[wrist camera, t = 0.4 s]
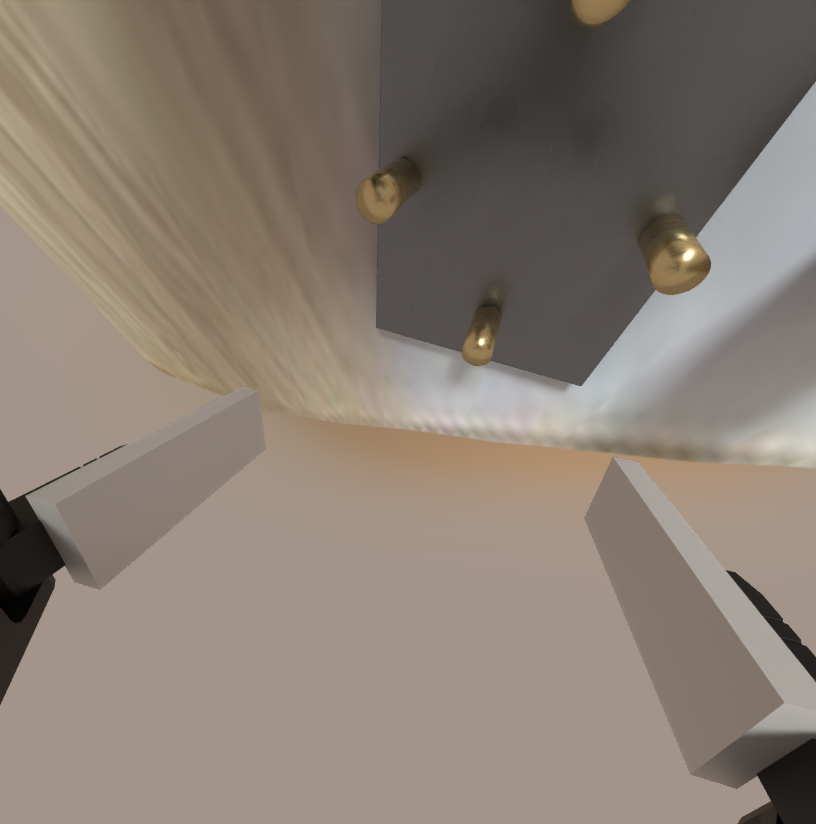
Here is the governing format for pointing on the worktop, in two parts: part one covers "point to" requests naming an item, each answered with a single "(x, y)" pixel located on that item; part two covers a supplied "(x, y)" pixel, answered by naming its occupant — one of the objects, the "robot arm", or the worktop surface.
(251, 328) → the worktop surface
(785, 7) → the pin plate
